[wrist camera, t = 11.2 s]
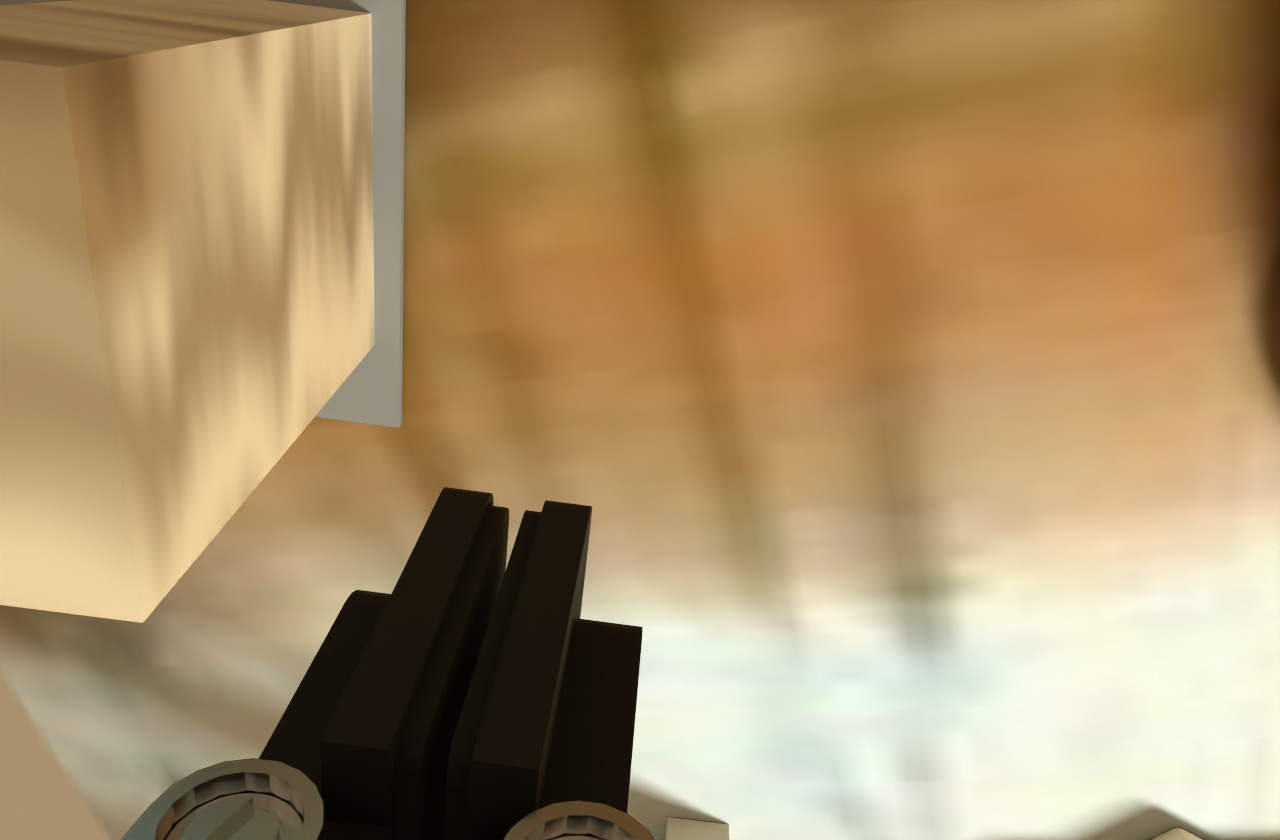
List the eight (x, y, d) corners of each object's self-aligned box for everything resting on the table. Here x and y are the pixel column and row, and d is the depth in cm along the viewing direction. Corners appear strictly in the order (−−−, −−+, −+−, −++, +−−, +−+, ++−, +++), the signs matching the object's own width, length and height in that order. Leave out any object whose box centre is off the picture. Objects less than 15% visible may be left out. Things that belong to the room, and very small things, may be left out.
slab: (196, -10, 24) (-279, 24, 12) (371, 13, 24) (62, 67, 12) (223, 325, 28) (-116, 590, 16) (374, 344, 28) (142, 623, 16)
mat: (-165, -164, 23) (-175, -164, 23) (406, -88, 23) (402, -89, 23) (-50, 364, 29) (-57, 368, 29) (402, 423, 29) (399, 427, 29)
